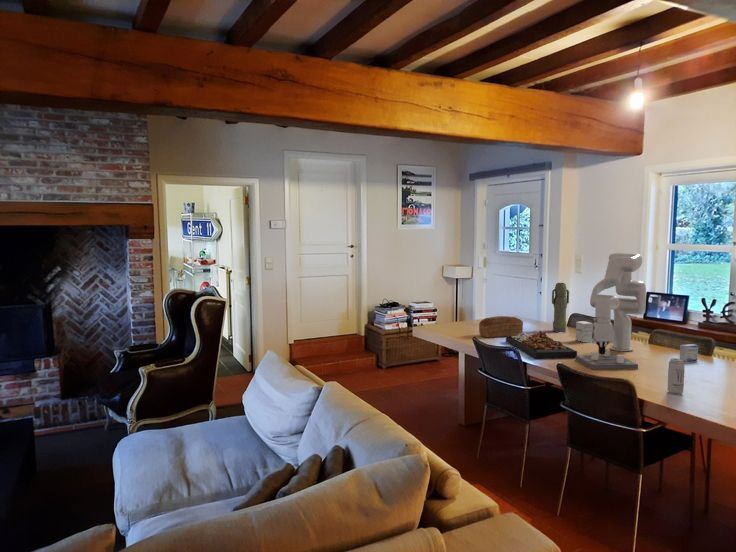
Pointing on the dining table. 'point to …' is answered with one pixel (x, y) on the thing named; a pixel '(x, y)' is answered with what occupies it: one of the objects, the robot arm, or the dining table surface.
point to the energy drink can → (676, 376)
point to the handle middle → (595, 355)
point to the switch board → (605, 362)
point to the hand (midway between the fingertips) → (601, 353)
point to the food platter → (540, 346)
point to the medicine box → (688, 352)
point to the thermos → (560, 307)
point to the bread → (500, 326)
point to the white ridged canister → (584, 331)
